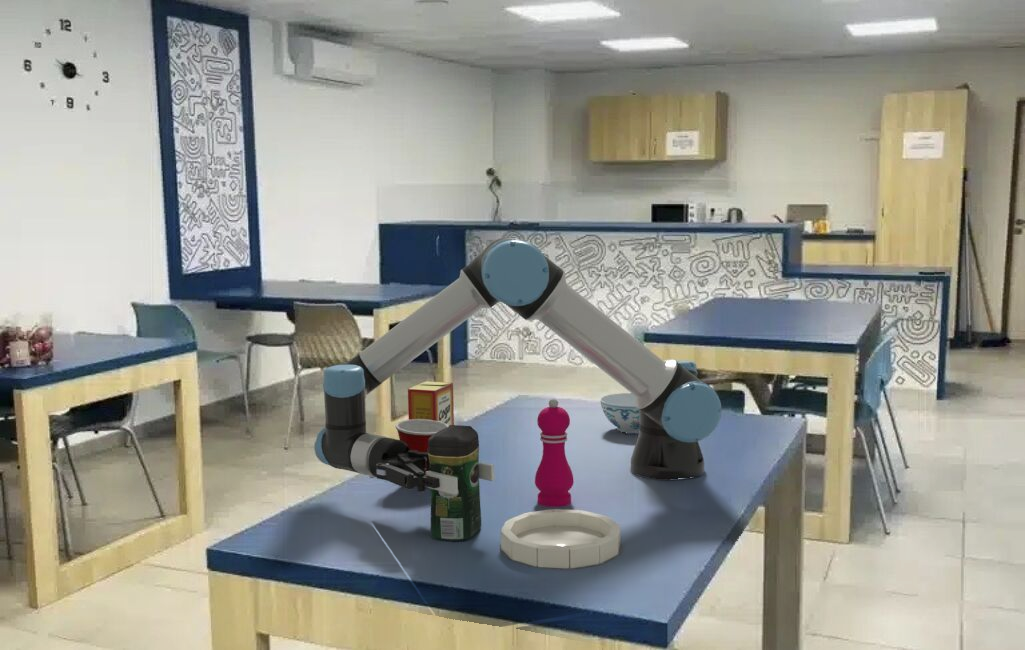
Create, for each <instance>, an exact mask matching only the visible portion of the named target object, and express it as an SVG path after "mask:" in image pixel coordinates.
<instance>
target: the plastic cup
mask: <svg viewBox="0 0 1025 650" xmlns="http://www.w3.org/2000/svg"><path fill="white" fill-rule="evenodd" d="M447 427H449V426H448V425H447V424H445V423H442V422H439V421H433V420H422V419H415V420H409V419H407V420H401V421H398V422H397V423H396V424H395V429H396V430H397V433H398V438H399V439H398V440H401V441H403V442H404V443H406V445H407V446H408V448H409V449H410V450H416V451H419V452H427V449H428V439H429V438H430V437H431V436H433V435H434V434H436V433H437V432H439V431H441V430H443V429H445V428H447ZM425 468H427V461H426V467H425ZM424 475H426V473H424Z"/></svg>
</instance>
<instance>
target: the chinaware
mask: <svg viewBox="0 0 1025 650" xmlns="http://www.w3.org/2000/svg"><path fill="white" fill-rule="evenodd" d="M599 401H600V402H599V403H600V405H601V406H600V407H601V408H602V409H601V410H602V412H603V414H604V416H605V417H606V419H607V420H608V421H609V422H610V423H611V424H612V425H613V426H615V427H616V428H617V429H618V430H619V431H621V432H620V433H622V432H627V433H626V434H629V433H635V434H639V409H638V408H637V407H636V405H635V397H634V395H633V394H632V393H631V392H627V393H626V392H621V393H613V394H607V395H603V396H601V397H600V399H599ZM618 430H617V431H618ZM619 431H618V432H619Z"/></svg>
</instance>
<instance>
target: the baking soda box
mask: <svg viewBox="0 0 1025 650" xmlns="http://www.w3.org/2000/svg"><path fill="white" fill-rule="evenodd" d="M407 403H408V404H407V406H408V407H407V408H408V409H407V410H408V420H415V419H422V420H433V421H439V422H442V423H445V424H447V425H448V426H450V425H455V421H454V420H455V414H454V413H455V411H454V410H455V409H454V382H450V381H449V382H446V381H445V382H444V381H429V380H428V381H427V380H426V381H423V382H421V383H419V384H417V385H414V386H412V387H410V388H408V389H407Z"/></svg>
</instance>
